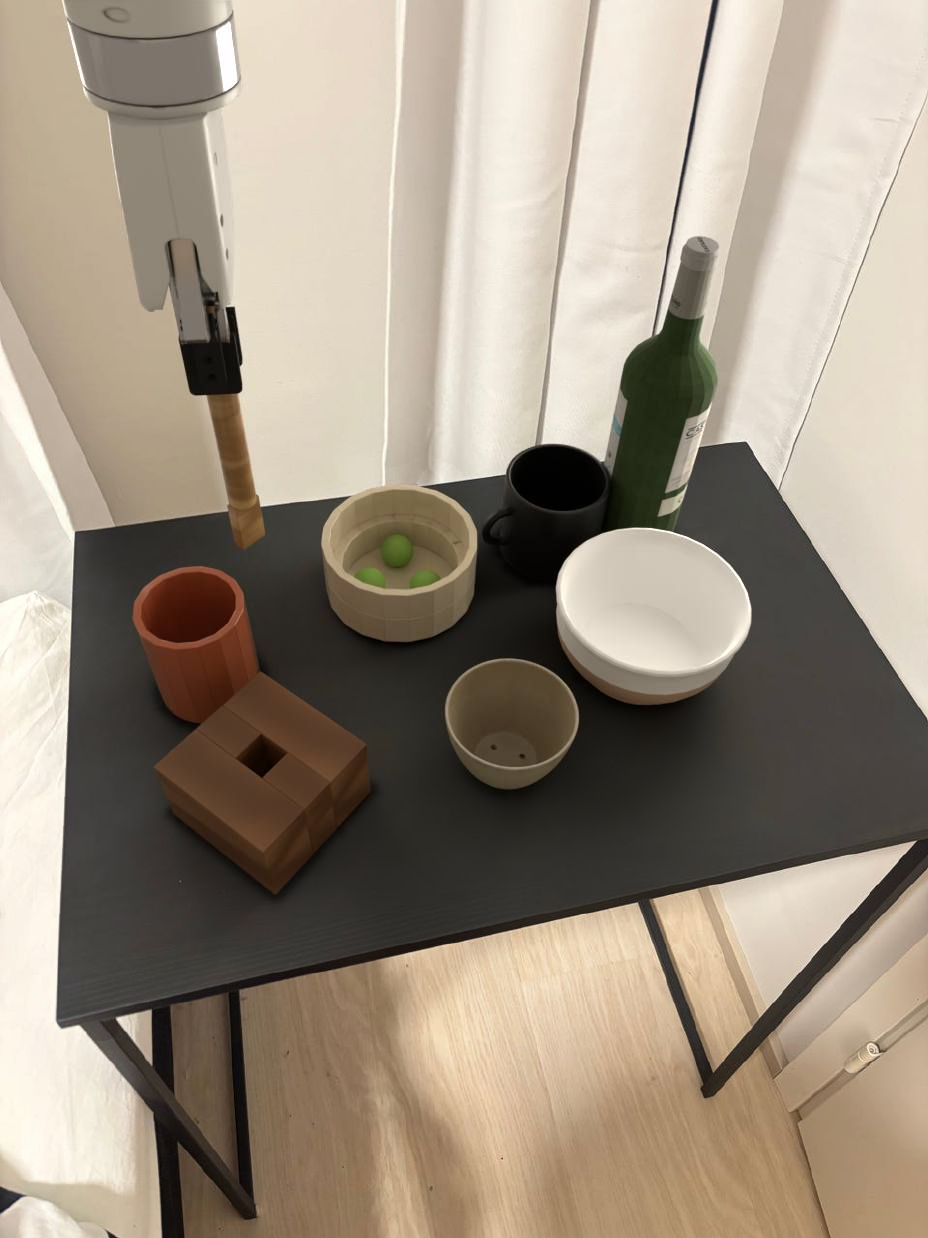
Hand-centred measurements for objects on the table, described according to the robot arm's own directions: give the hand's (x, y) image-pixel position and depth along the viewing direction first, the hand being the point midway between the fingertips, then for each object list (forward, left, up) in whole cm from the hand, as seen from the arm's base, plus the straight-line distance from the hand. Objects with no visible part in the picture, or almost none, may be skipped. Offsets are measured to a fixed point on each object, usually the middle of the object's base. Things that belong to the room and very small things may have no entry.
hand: (217, 376), depth 58 cm
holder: (-10, -10, -29) cm, 32 cm away
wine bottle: (+33, -17, -29) cm, 47 cm away
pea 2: (+15, -2, -26) cm, 30 cm away
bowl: (+20, -25, -29) cm, 43 cm away
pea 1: (+10, -3, -26) cm, 28 cm away
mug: (+25, -11, -29) cm, 39 cm away
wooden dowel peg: (0, 0, -15) cm, 15 cm away
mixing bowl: (+13, -4, -29) cm, 32 cm away
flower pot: (+4, -22, -29) cm, 37 cm away
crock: (-5, +2, -29) cm, 29 cm away
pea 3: (+13, -7, -26) cm, 30 cm away
